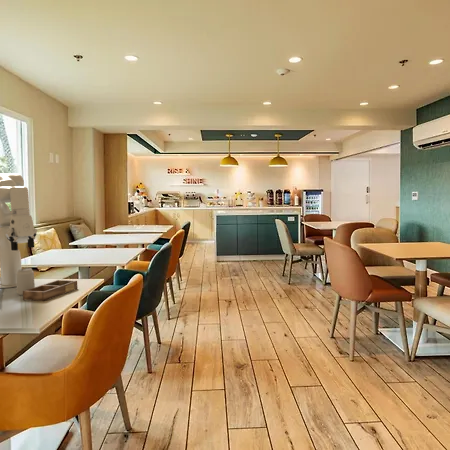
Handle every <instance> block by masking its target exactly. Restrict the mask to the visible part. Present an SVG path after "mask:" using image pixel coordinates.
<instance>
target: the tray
mask: <svg viewBox="0 0 450 450" xmlns="http://www.w3.org/2000/svg"><path fill="white" fill-rule="evenodd" d="M77 288H78V280H70V279H69V280H68V279H67V280H66V279H57V280H53V281H51V282H47V283H44V284H41V285H38V286H35V287H34V288H31V289H28V290H25V291H23V295H22V299H23V301H24V300H25V301H36V302H46V301H48V300H51V299H53V298H56V297H60V296H62V295H64V294H67V293H71V292H72V290H73V291H75V290H77ZM74 289H75V290H74Z"/></svg>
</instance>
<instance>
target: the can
mask: <svg viewBox="0 0 450 450" xmlns="http://www.w3.org/2000/svg"><path fill="white" fill-rule="evenodd" d="M17 271H18V272H17V273H16V283H17V287H16V291H17V292H16V294H17V295H19V296H23V291H25V290H28V289H31V288H34V287H36V286H35V285H36V284H35V272H34V270H33V268H31V267H29V268H27V267H26V268H22V269H19V270H17Z"/></svg>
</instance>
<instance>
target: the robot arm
mask: <svg viewBox="0 0 450 450" xmlns="http://www.w3.org/2000/svg"><path fill="white" fill-rule="evenodd" d="M29 199H30V197H29V190H28V187H26V186H25V182H24V178H23V176H22V175H21V174H19V173H0V288H1V289H9V288H10V289H11V288H17V283H16V273H17V272H18V271H17V270H19V269H23V267H22V257H21V256H22V254H21V250H20V249H19V246H18V244H23V243H27V246H28V247H27V248H35V239H36V236H37V232H38V229H36V228H34V227H35V226H34V219H33V217H32V215H31V214H30V213H31V212H30V200H29ZM7 203H8V204H9V203H10V206H9V205H8V204H7Z"/></svg>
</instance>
